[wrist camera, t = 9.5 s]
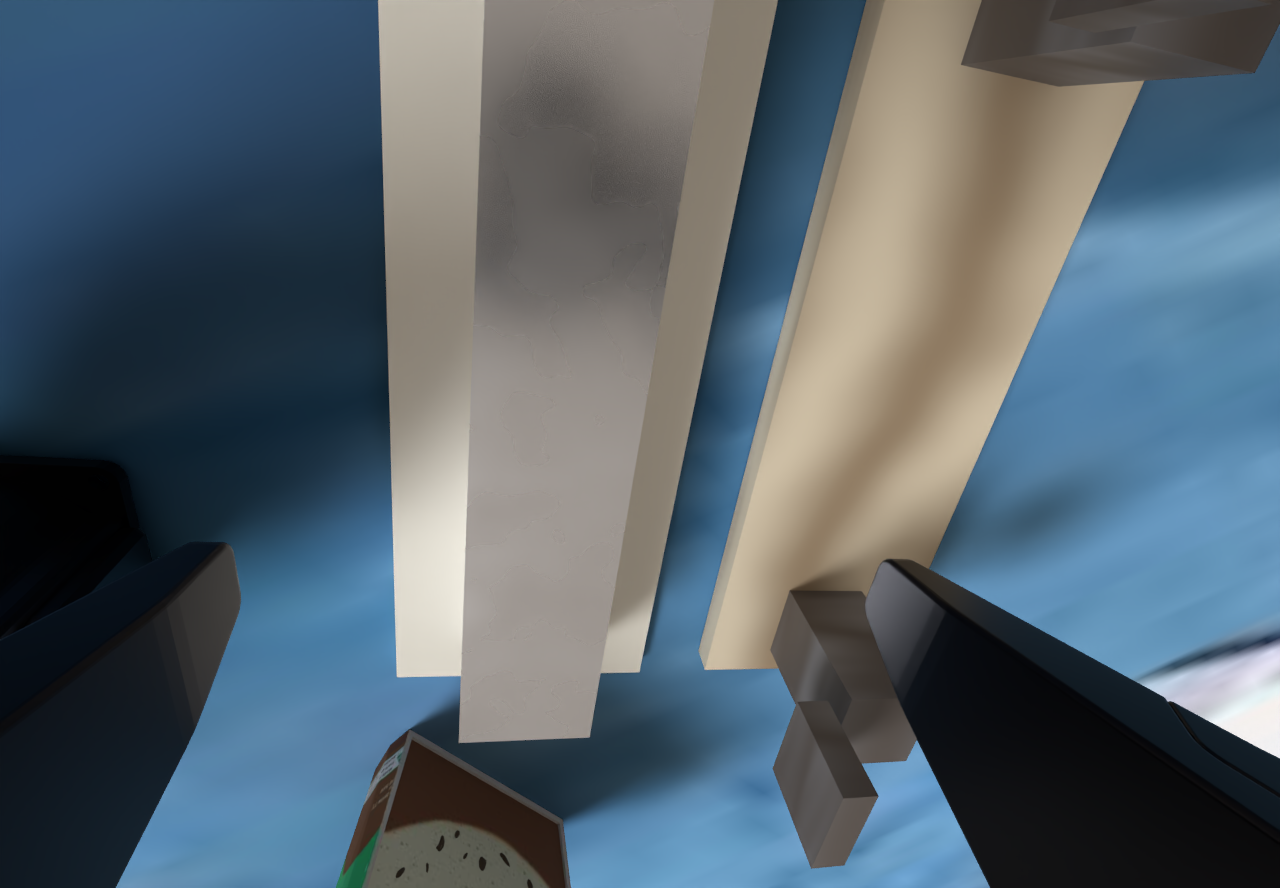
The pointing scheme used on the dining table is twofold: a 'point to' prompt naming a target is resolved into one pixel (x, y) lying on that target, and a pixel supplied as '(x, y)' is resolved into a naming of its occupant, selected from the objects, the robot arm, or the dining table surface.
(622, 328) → the rail
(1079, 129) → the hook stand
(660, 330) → the board
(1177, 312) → the dining table surface
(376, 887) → the food container
